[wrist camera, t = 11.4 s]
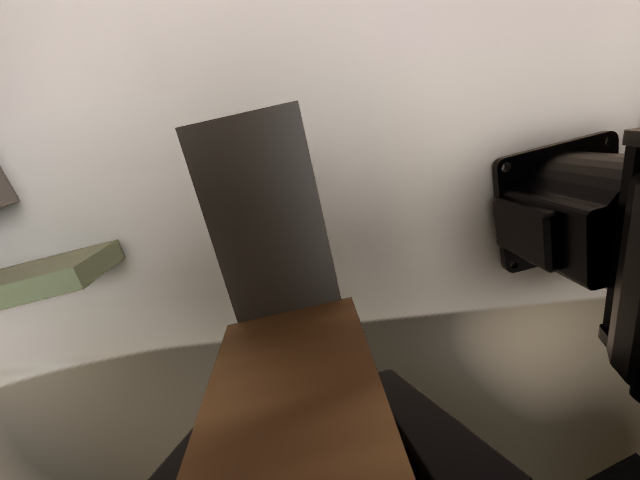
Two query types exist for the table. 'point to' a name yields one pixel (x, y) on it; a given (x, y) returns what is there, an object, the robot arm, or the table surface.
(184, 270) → the table surface
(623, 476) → the disc drive
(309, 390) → the hoe
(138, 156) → the table surface
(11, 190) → the stone block
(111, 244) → the bin
